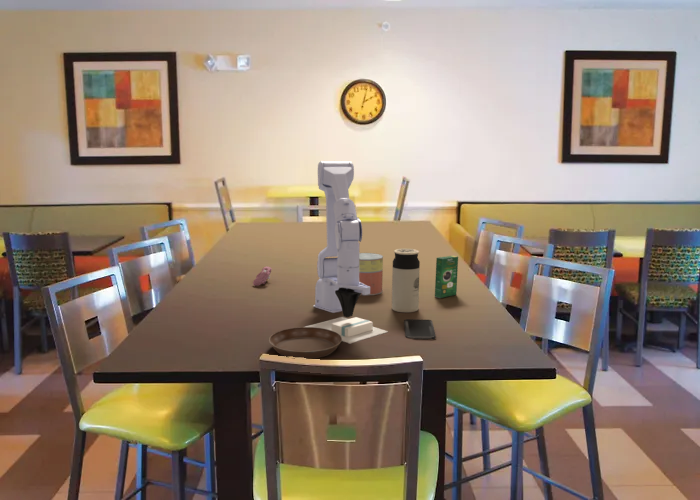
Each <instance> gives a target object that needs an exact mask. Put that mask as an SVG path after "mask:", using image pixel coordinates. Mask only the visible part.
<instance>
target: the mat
mask: <svg viewBox="0 0 700 500" xmlns="http://www.w3.org/2000/svg"><path fill="white" fill-rule="evenodd" d="M347 319H348V317H344V316H339V317H337V318H333V319H329V320H326V321H321V322H317V323H314V324H310V325H306V326H304V327H316V328H323V329H328V330H331V324H332V323H336V322H340V321H343V320H347ZM388 332H389V331H388V330H385V329H381V328H379V327H375V326H373V330H371V331H368V332H364V333H361V334H357V335H354V336H350V337H346V336H342V335H340V334H339V335H340V336H341V338H342V341H341V342H343V343H346V344H350V345H351V344H353V343H358V342H361V341H363V340H367V339H369V338H373V337H374V338H375V337H376V336H380V335H383V334H387V333H388Z"/></svg>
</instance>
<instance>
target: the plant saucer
mask: <svg viewBox="0 0 700 500" xmlns="http://www.w3.org/2000/svg"><path fill="white" fill-rule="evenodd" d="M268 342H269V344H270V346H271V347H272V348H273V350H275V352H276V353H277V354H279V355H281V356H283V355H285V356H293V357H304V358H314V359H319V358H323V357H326V356H329V355H332V353H334V351H336V350H337V348H338V347H339V346H340V344H341V342H343V341H342V338H341V336H340V335H339V334H338V333H336V332H334V331H331V330H328V329H323V328H316V327H305V326H302V327H301V326H300V327H290V328H285V329H282V330H279V331H276V332H275V333H273V334H271V335H270V336H269V338H268ZM285 356H284V357H285Z"/></svg>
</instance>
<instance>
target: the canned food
mask: <svg viewBox="0 0 700 500" xmlns="http://www.w3.org/2000/svg"><path fill="white" fill-rule="evenodd" d="M383 261H384V256H383V255H382V254H380V253H374V252H373V253H372V252H359V282H361V283H363V284H365V285H367V286H369V287H370V294H368V295H367V296H376V295H380V294H382V293H383V272H384V270H383V269H384V267H383V266H384V262H383ZM360 296H363V295H362V293H361V295H360Z"/></svg>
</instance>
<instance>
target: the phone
mask: <svg viewBox="0 0 700 500" xmlns="http://www.w3.org/2000/svg"><path fill="white" fill-rule="evenodd" d="M403 323H404V324H403V325H404V336H405V338H407V339H413V340H428V339H433V340H436V339H437V338H436V337H437V334H436V331H435V327H434V323H433V320H431V319H415V318H412V319H411V318H410V319H409V318H408V319H407V318H406V319H404V320H403ZM435 338H436V339H435Z"/></svg>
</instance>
